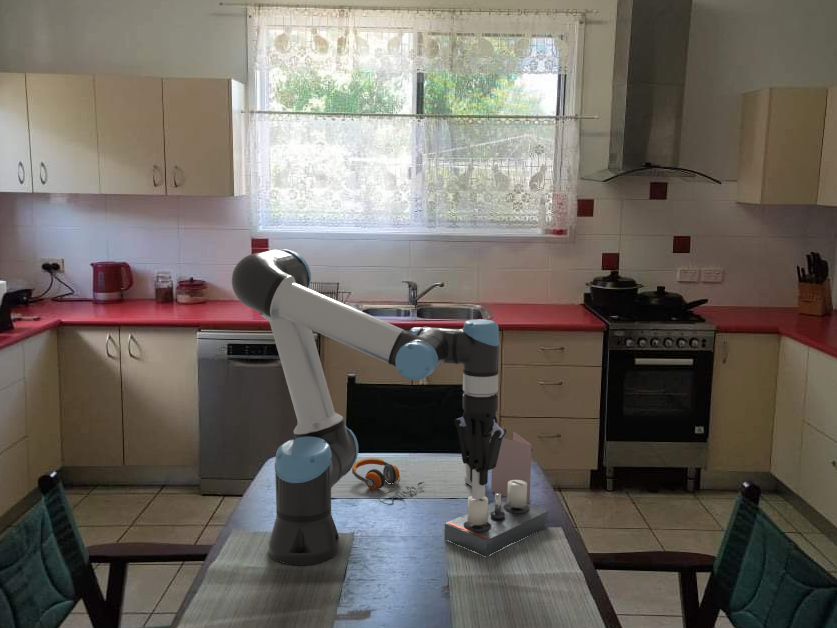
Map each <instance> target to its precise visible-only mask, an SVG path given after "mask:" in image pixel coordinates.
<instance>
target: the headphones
mask: <svg viewBox="0 0 837 628" xmlns="http://www.w3.org/2000/svg"><path fill="white" fill-rule="evenodd" d="M365 465H379V466H384V467H383V470H382V472H381V471H380V470H378V469H377V468H373V469H370V470H368V471H367V473H366V475H365V476H362V475H361V474H359V473H358V472H357V469H358V468H359V467H362V466H365ZM351 471H352V474H351V475H354V477H355V478H356V479H358V480H359V481H362V482H364V483H365V485H366V486H367V488H368V489H370V490H373V489H374V490H376V489H378V488H380V489H382V488H389V489H390V490H389V491H386V492H384V493H382V494H381V495H379V497H378V501H379V502H381V503H382V504H384V505H390V506H391V505H394V504H395V501H394V498H396V499H398V500H400V499H401V498H403V497H404V496H405V495H404V494H406V495H407V494H408V493H409V492H410V493H411V491H412V490H411V489H414V490H416V489H417V488H416V487H415V486H411V487H409V486H407V485H406V487H405V489H406V490H407V491H408V493H407V492H406V491H404V490H403V491H401V492H399V491H395V490H396V489H398V487H399V485H400V483H399V482H400V481H401V476H400V471H399V469H398V466H397V465H395V464H394V465H393V464H391V463H389V462H387V461H385V460H384V459H380V458H375V457H374V458H373V457H372V458H370V457H369V458H363V459H360V460H358V461H355V463H354V465H353V467H352V468H351ZM385 480H386V481H387V482H388V483H391V484H392V483H394V484H395V483H397V486H396V487H395V488H394V489H392V487H391V486H390V485H388V486H386V485H385V483H386V482H385ZM424 483H425V481H421V482H418V483H417V487H419V486H420V485H422V484H424ZM392 485H393V484H392ZM378 490H379V489H378ZM409 490H410V491H409ZM394 491H395V494H396V495H397V496H392V497H391V500H392V501H391V503H387V502H383V501H382V500H381V497H382V496H385V495H388V494H390V493H392V492H394ZM400 495H401V496H400ZM402 495H403V496H402ZM393 503H394V504H393Z"/></svg>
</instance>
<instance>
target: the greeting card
mask: <svg viewBox="0 0 837 628" xmlns="http://www.w3.org/2000/svg"><path fill="white" fill-rule="evenodd" d="M532 452H533V448H532V444H531V443H530V442H528V441H527V440H526V439H524V438H523V437H522V436H520V435H519V434H518V433H516V432H515V431H513V434H512V439H508V438H504V437H503V438H502V443H501V447H500V451H499V455H498V460H497V464H496V467H495V468H493V469H491V488H490V489H491V491H490V492H491V493H494V494H496V493H500V494H501V496H504V497H507V494H508V482H509V481H511V480H522V481H525V482H526V483H527V501H526V503H527V504H530V502H531V472H532Z"/></svg>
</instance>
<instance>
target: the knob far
mask: <svg viewBox="0 0 837 628" xmlns="http://www.w3.org/2000/svg"><path fill="white" fill-rule="evenodd" d="M506 497H507V504H508V505H509V506H511V507H515V508H521V507H525V506H526V503H527V502H526V501H527V483H526V482H525V481H522V480H511V481H509V482H508V494H507V496H506Z"/></svg>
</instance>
